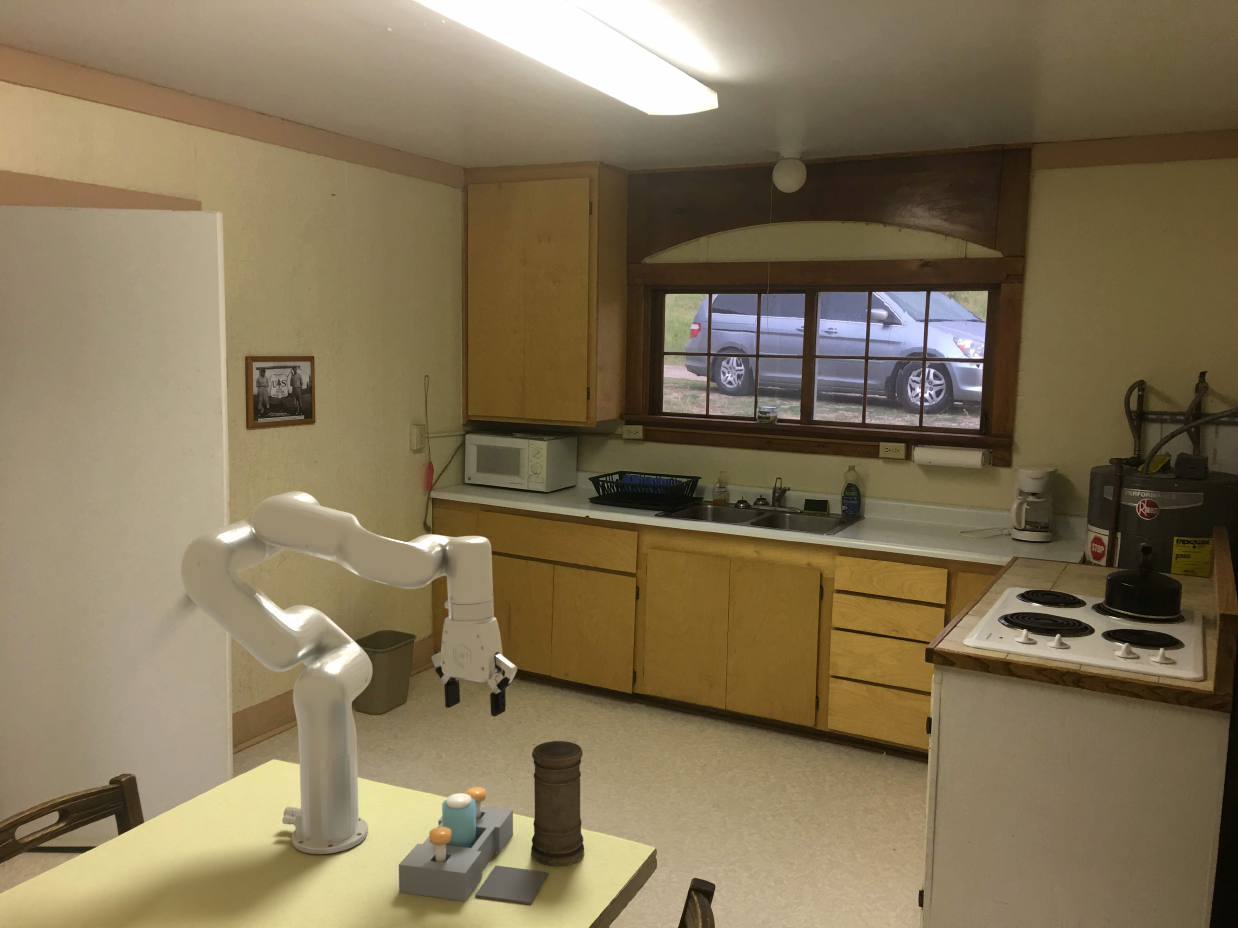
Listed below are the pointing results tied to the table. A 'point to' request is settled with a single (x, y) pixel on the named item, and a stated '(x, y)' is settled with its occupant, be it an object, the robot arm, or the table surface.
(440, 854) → the plunger
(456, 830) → the cartridge
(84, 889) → the table surface
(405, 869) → the housing
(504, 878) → the mat
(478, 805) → the orange mushroom peg
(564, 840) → the container
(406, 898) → the table surface
